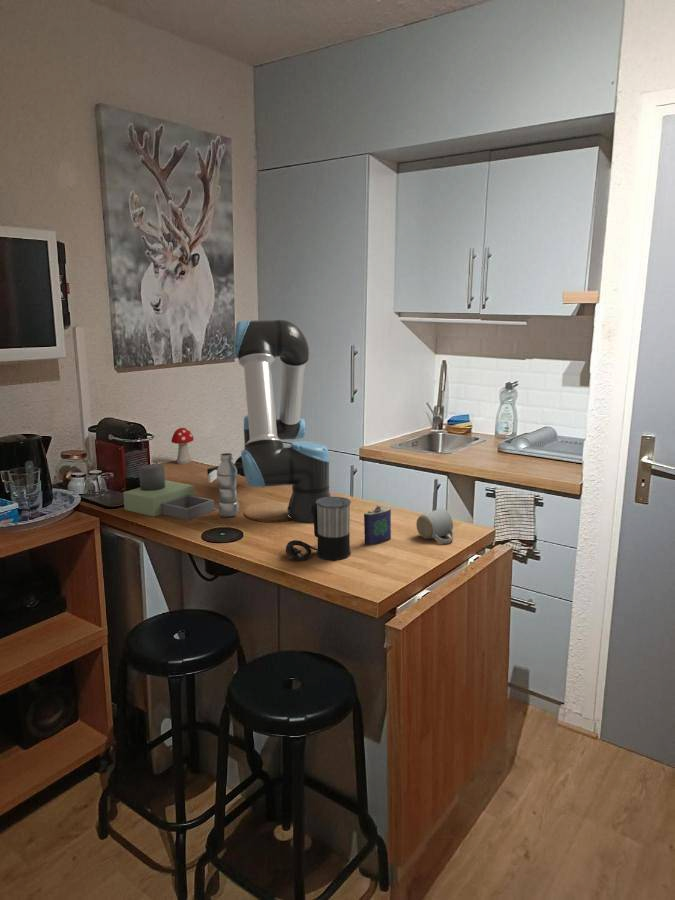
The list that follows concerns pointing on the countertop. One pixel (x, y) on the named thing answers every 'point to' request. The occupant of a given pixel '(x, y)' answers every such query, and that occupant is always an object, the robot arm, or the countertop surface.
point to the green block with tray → (165, 496)
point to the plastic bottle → (227, 486)
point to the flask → (377, 526)
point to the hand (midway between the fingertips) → (229, 479)
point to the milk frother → (327, 530)
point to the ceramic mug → (435, 525)
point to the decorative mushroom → (182, 444)
